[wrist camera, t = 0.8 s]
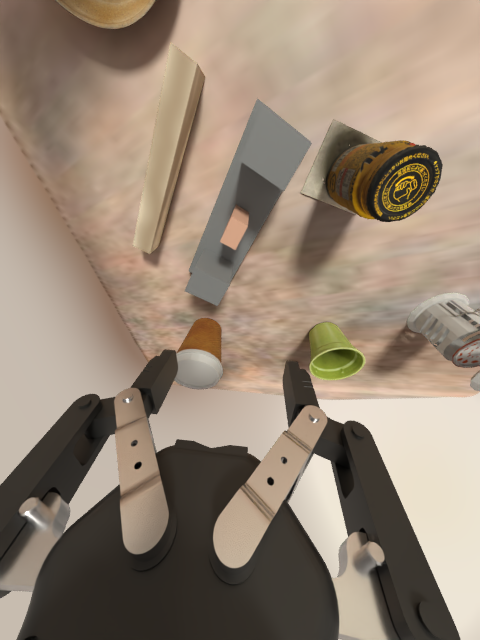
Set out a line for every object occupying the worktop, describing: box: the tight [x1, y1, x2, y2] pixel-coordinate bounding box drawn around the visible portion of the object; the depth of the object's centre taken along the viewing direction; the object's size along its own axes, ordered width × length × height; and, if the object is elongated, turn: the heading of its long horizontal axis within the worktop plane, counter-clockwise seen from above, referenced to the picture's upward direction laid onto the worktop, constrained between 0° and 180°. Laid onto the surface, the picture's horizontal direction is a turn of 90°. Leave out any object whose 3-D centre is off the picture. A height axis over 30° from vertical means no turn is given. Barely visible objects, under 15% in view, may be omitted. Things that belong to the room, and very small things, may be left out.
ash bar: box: [133, 42, 205, 254], centre depth 25 cm, size 2×20×4 cm, turn 152°
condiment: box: [301, 120, 442, 222], centre depth 20 cm, size 7×8×12 cm
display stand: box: [185, 99, 312, 306], centre depth 26 cm, size 7×22×8 cm, turn 152°
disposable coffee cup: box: [174, 318, 223, 389], centre depth 39 cm, size 10×10×12 cm
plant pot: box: [309, 322, 365, 380], centre depth 39 cm, size 9×9×9 cm
